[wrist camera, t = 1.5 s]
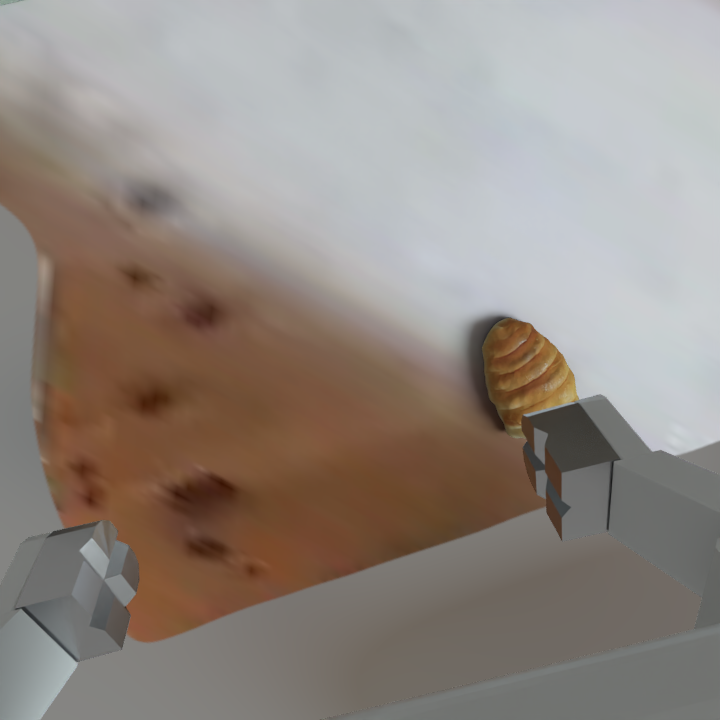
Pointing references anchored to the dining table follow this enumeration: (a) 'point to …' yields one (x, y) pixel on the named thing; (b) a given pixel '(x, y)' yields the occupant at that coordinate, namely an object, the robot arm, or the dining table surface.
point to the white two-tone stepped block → (7, 1)
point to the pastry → (524, 373)
